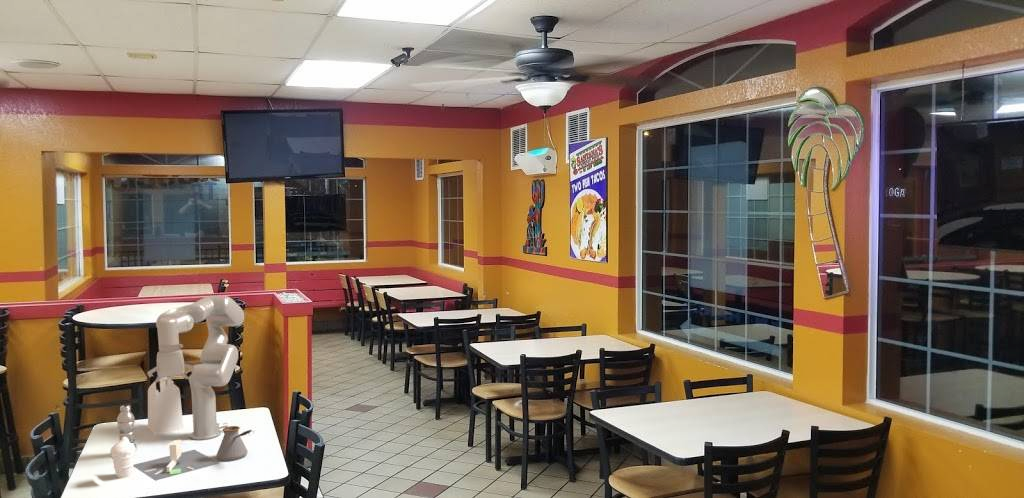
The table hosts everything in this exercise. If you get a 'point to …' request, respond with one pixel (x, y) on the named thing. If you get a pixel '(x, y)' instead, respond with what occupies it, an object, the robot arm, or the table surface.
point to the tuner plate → (186, 464)
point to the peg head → (174, 454)
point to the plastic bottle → (126, 424)
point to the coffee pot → (232, 444)
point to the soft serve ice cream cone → (123, 457)
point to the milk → (164, 407)
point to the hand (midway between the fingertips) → (172, 389)
